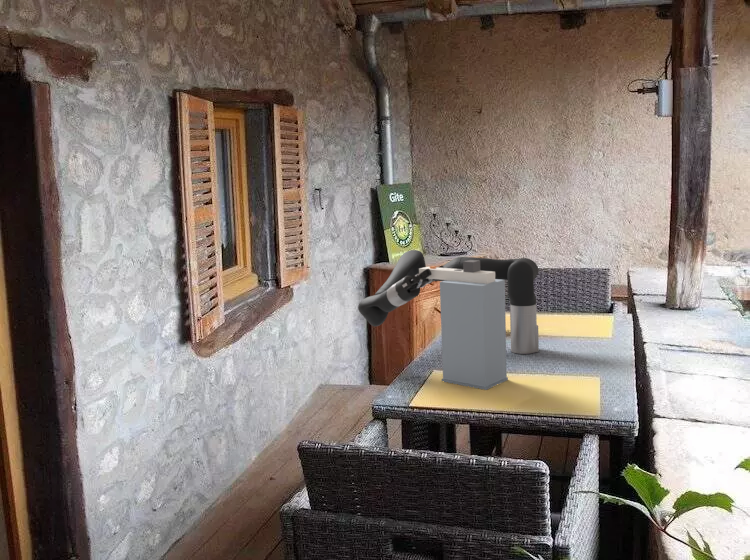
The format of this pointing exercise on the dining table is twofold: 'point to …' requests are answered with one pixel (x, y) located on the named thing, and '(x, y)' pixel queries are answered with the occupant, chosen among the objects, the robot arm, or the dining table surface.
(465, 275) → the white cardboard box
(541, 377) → the dining table surface
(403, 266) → the robot arm
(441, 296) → the post
